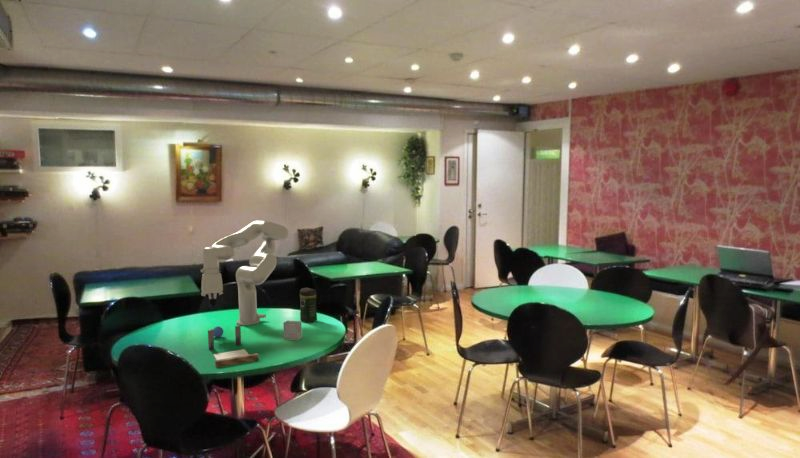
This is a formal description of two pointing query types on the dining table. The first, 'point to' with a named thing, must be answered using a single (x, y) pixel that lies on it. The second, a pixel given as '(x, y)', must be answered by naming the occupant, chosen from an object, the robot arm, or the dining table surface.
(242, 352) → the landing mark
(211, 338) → the post
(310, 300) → the coffee jar
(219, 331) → the ball
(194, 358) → the dining table surface
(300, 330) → the medicine box
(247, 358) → the stopper wall
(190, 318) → the dining table surface
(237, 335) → the post
